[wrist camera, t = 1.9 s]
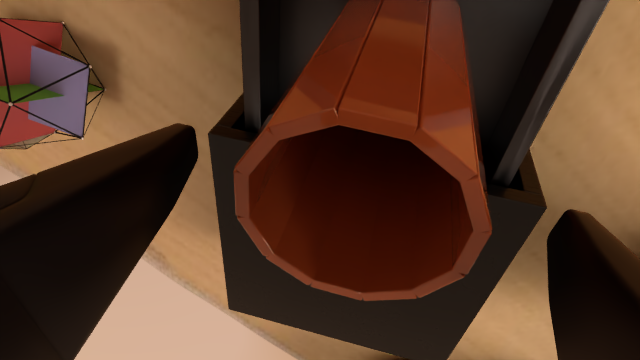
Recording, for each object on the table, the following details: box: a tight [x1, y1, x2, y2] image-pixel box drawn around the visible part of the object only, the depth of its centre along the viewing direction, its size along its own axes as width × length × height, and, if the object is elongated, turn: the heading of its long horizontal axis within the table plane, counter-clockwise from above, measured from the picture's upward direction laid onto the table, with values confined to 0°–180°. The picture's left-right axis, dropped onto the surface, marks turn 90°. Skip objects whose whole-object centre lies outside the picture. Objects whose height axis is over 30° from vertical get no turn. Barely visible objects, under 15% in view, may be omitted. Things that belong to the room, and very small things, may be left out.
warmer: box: [208, 93, 547, 360], centre depth 23 cm, size 15×15×6 cm
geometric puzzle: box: [0, 18, 106, 149], centre depth 21 cm, size 7×7×8 cm
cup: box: [233, 0, 492, 301], centre depth 12 cm, size 5×5×11 cm
